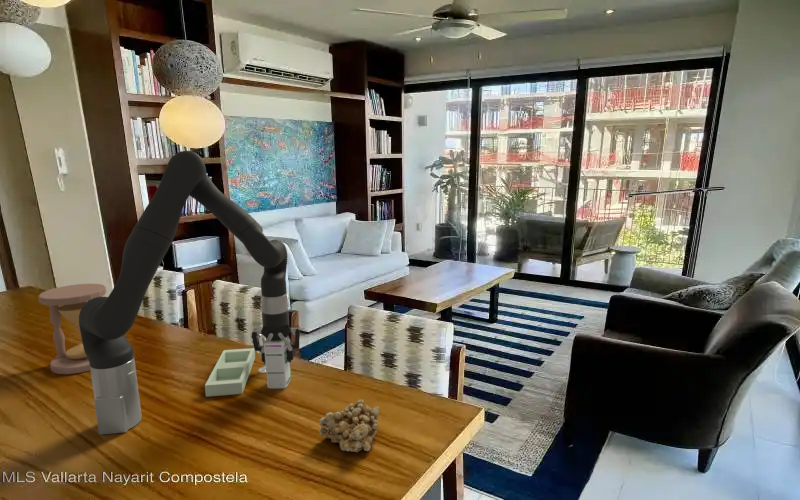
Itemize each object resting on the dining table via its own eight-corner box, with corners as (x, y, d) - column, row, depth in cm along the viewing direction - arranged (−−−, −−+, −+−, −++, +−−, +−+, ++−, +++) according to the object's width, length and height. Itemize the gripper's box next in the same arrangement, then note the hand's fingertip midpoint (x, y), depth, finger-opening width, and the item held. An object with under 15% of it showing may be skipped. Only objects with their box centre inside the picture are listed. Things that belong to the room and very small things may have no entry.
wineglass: (277, 366, 142) (275, 331, 140) (270, 374, 136) (268, 338, 134) (260, 365, 143) (258, 331, 140) (253, 373, 137) (250, 338, 135)
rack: (242, 393, 125) (241, 382, 124) (205, 396, 123) (204, 385, 123) (255, 357, 148) (254, 348, 147) (224, 359, 146) (223, 350, 146)
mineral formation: (313, 440, 104) (357, 409, 115) (352, 472, 96) (395, 436, 107) (314, 413, 101) (359, 385, 112) (354, 444, 93) (398, 410, 104)
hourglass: (127, 352, 152) (118, 284, 147) (87, 376, 135) (75, 299, 130) (81, 350, 154) (70, 282, 149) (36, 373, 137) (22, 297, 132)
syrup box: (286, 388, 128) (283, 342, 125) (266, 388, 128) (263, 342, 125) (291, 379, 133) (289, 335, 130) (272, 379, 133) (269, 335, 130)
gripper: (247, 314, 121) (251, 369, 124) (299, 311, 123) (302, 365, 127) (251, 306, 128) (255, 358, 131) (300, 303, 131) (303, 354, 134)
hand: (278, 361), depth 129 cm, fingers closed on syrup box, 6 cm apart
